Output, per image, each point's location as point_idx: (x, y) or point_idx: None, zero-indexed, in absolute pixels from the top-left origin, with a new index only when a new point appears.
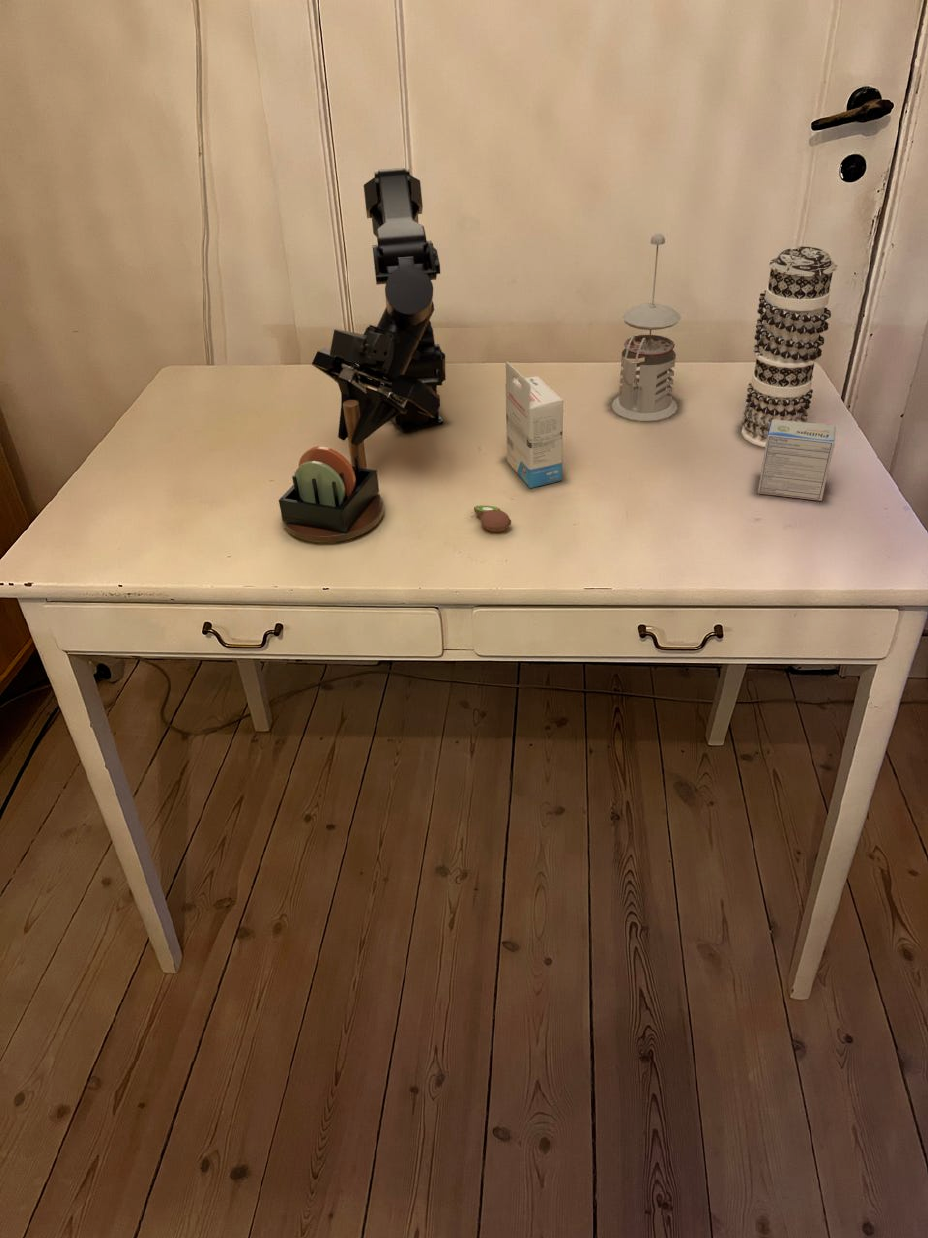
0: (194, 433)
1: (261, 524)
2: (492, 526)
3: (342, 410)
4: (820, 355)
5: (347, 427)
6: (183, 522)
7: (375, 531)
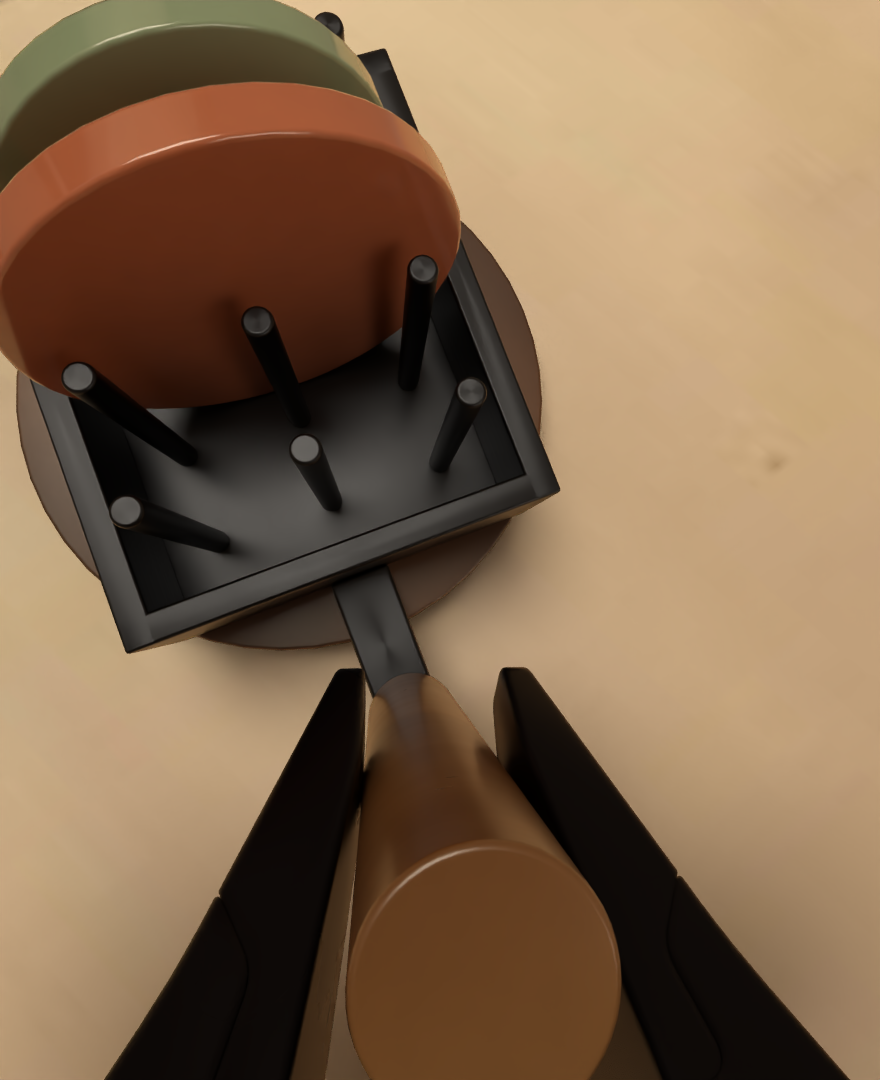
0: None
1: (522, 195)
2: None
3: (657, 886)
4: None
5: (449, 738)
6: (783, 39)
7: None
